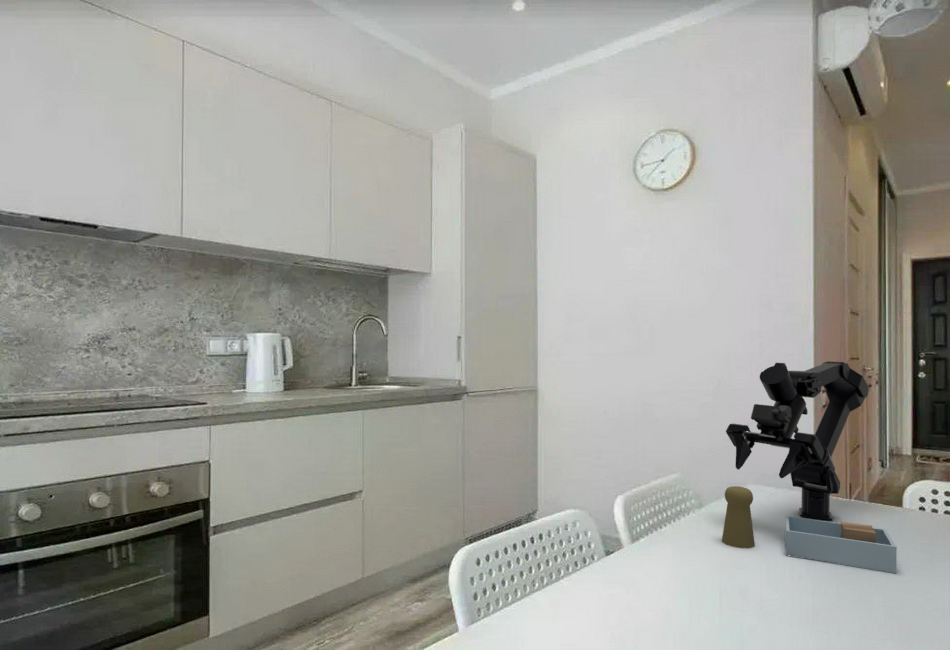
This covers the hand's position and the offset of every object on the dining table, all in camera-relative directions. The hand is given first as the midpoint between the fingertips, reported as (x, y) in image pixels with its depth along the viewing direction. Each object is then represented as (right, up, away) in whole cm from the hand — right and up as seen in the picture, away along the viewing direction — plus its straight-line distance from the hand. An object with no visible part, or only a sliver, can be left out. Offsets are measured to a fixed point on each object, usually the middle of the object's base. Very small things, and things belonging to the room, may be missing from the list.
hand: (758, 472), depth 123 cm
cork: (-6, -13, -5) cm, 15 cm away
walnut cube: (+13, -13, -11) cm, 22 cm away
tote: (+10, -13, -10) cm, 19 cm away
